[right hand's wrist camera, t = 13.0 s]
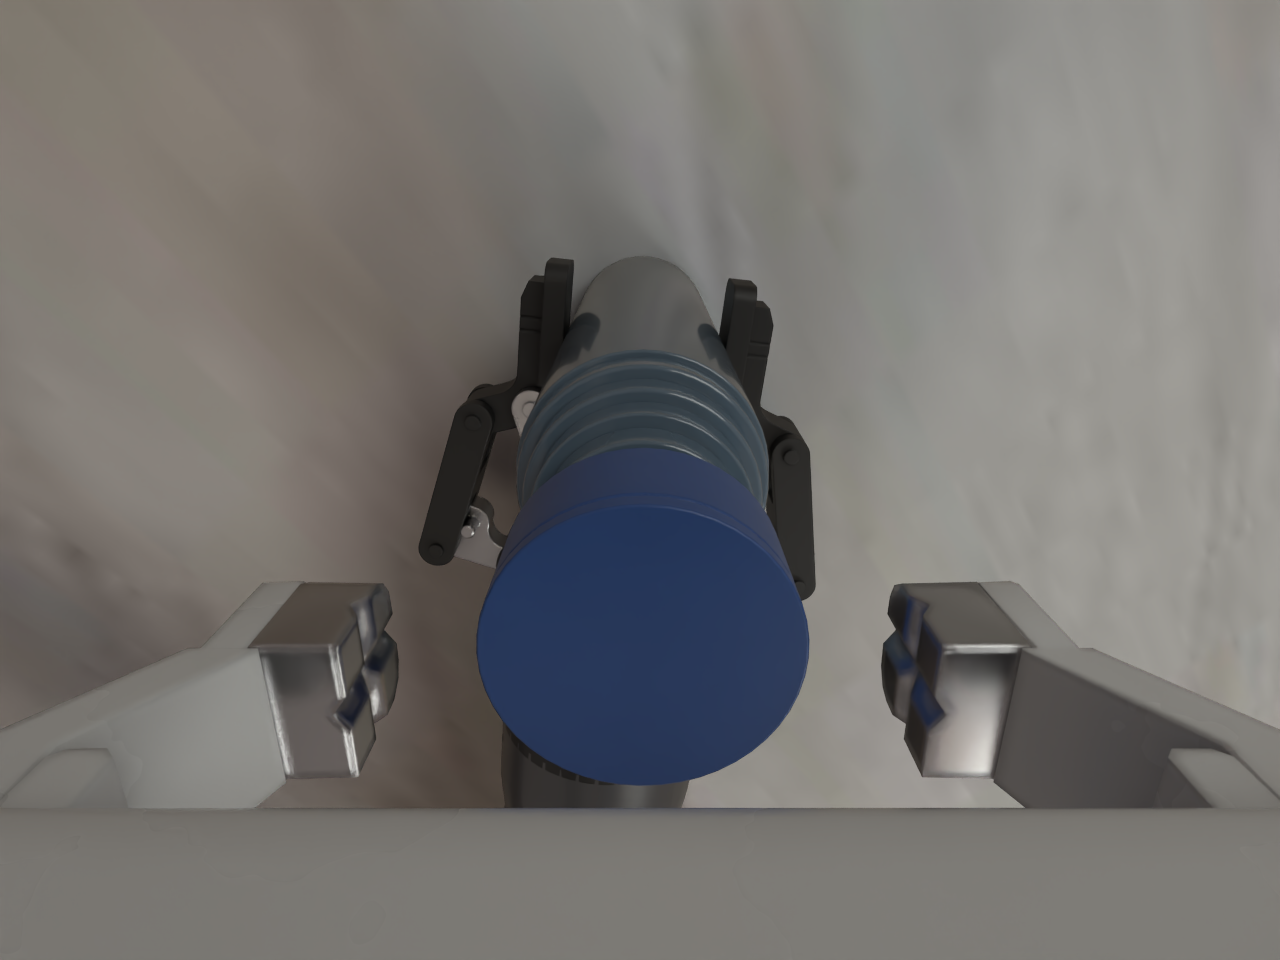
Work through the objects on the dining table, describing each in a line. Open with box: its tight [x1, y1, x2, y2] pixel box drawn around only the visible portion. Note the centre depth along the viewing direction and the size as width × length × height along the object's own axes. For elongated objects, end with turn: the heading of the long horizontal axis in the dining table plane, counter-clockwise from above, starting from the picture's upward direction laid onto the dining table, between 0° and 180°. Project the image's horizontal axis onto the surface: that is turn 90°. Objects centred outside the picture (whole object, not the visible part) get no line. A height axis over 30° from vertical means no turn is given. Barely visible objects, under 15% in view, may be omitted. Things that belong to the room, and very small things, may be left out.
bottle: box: [516, 256, 769, 510], centre depth 20 cm, size 5×5×22 cm
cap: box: [476, 448, 809, 786], centre depth 10 cm, size 4×4×2 cm
